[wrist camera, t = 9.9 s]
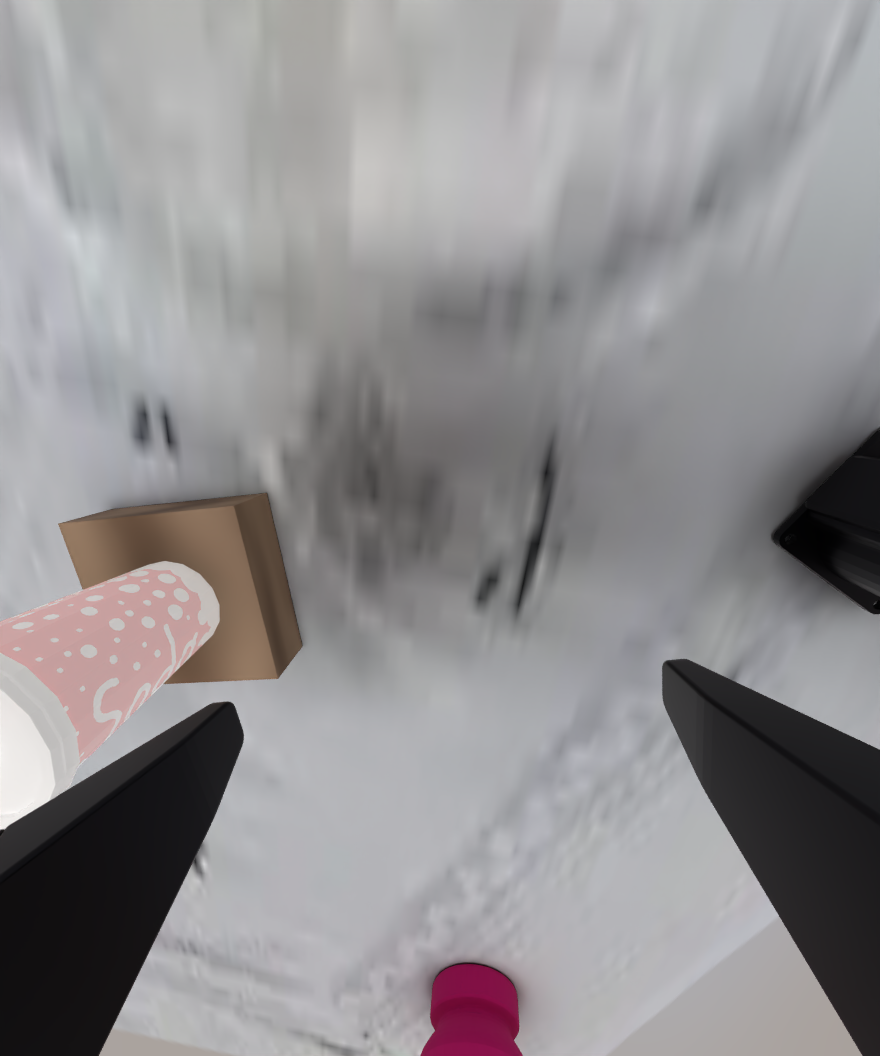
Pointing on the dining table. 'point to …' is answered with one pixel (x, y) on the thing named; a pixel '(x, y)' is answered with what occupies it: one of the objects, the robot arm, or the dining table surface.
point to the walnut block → (204, 575)
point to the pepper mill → (473, 1013)
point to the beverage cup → (90, 672)
